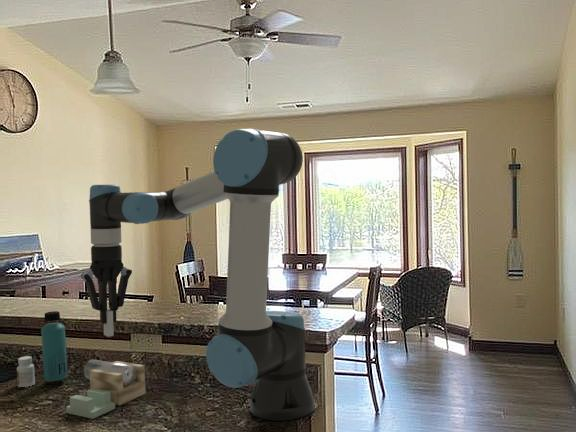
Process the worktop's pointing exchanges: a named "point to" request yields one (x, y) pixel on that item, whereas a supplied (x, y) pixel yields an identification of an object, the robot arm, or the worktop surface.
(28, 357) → the pill bottle
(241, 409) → the worktop surface
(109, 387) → the wooden bracket
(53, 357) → the beverage bottle
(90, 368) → the axle
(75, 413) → the v block
